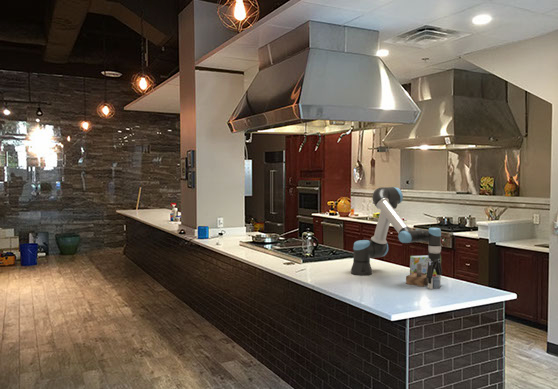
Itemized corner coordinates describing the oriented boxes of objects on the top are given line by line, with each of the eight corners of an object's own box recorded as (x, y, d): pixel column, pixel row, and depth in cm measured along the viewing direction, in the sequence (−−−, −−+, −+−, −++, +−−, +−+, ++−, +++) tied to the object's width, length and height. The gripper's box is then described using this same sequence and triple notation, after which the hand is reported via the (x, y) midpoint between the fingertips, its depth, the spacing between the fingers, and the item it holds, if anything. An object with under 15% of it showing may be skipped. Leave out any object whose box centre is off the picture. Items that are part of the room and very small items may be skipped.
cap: (426, 287, 307) (426, 277, 306) (430, 285, 312) (431, 276, 312) (437, 288, 302) (437, 279, 302) (441, 286, 307) (441, 277, 307)
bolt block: (406, 283, 316) (406, 263, 316) (414, 280, 325) (414, 261, 325) (423, 286, 308) (423, 266, 308) (431, 283, 317) (431, 263, 317)
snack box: (413, 279, 330) (414, 257, 330) (409, 277, 336) (409, 255, 335) (441, 277, 336) (441, 255, 335) (436, 275, 341) (436, 254, 341)
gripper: (432, 255, 295) (432, 291, 295) (447, 250, 313) (447, 284, 313) (420, 254, 299) (420, 289, 300) (436, 249, 317) (436, 282, 318)
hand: (434, 286), depth 307 cm, fingers open, 11 cm apart
